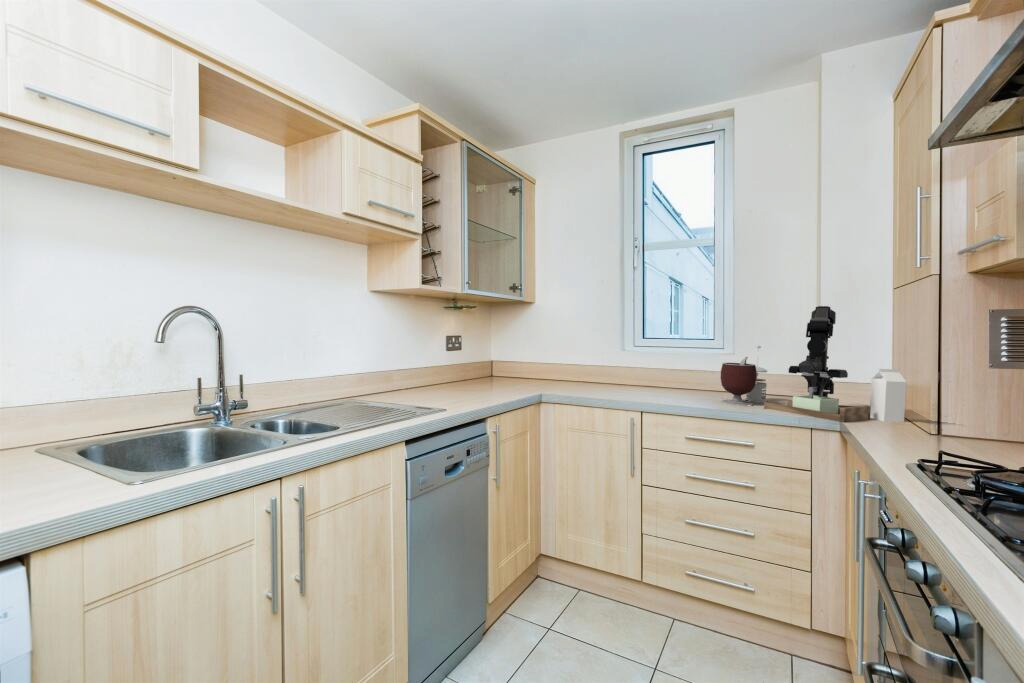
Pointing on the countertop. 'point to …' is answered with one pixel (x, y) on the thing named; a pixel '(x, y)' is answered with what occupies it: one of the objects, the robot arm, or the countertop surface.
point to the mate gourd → (738, 380)
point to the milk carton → (888, 396)
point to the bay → (843, 413)
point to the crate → (816, 402)
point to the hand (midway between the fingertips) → (815, 394)
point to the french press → (758, 387)
